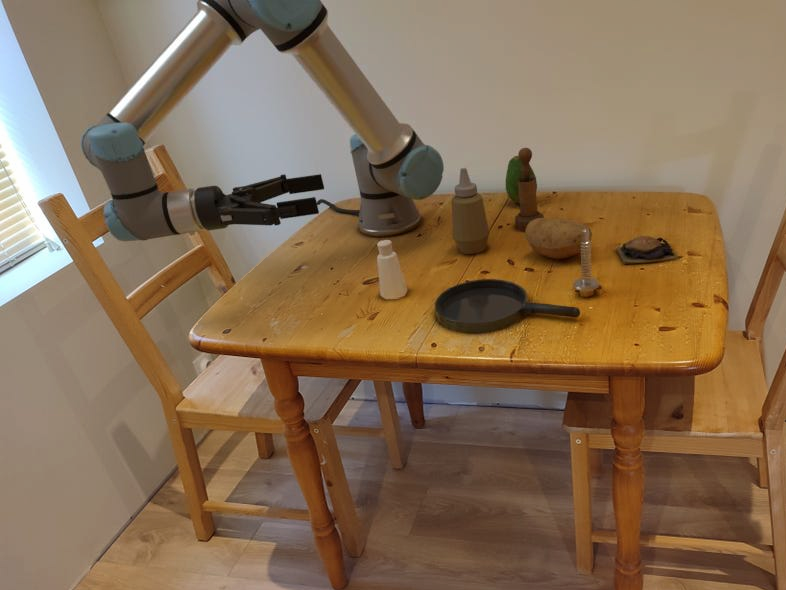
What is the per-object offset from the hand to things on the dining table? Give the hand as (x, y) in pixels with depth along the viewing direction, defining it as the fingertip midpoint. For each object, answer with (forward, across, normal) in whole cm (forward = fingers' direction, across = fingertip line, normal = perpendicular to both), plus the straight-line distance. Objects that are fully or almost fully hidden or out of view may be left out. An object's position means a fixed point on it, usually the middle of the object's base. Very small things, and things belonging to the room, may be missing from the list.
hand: (320, 192), depth 117 cm
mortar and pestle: (+42, -25, -22) cm, 54 cm away
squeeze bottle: (+28, -16, -22) cm, 39 cm away
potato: (+45, -6, -22) cm, 50 cm away
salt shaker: (+10, 0, -22) cm, 24 cm away
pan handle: (+37, +19, -21) cm, 47 cm away
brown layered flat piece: (+61, 0, -22) cm, 65 cm away
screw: (+45, +12, -22) cm, 52 cm away
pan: (+26, +12, -22) cm, 36 cm away
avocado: (+43, -40, -22) cm, 63 cm away
